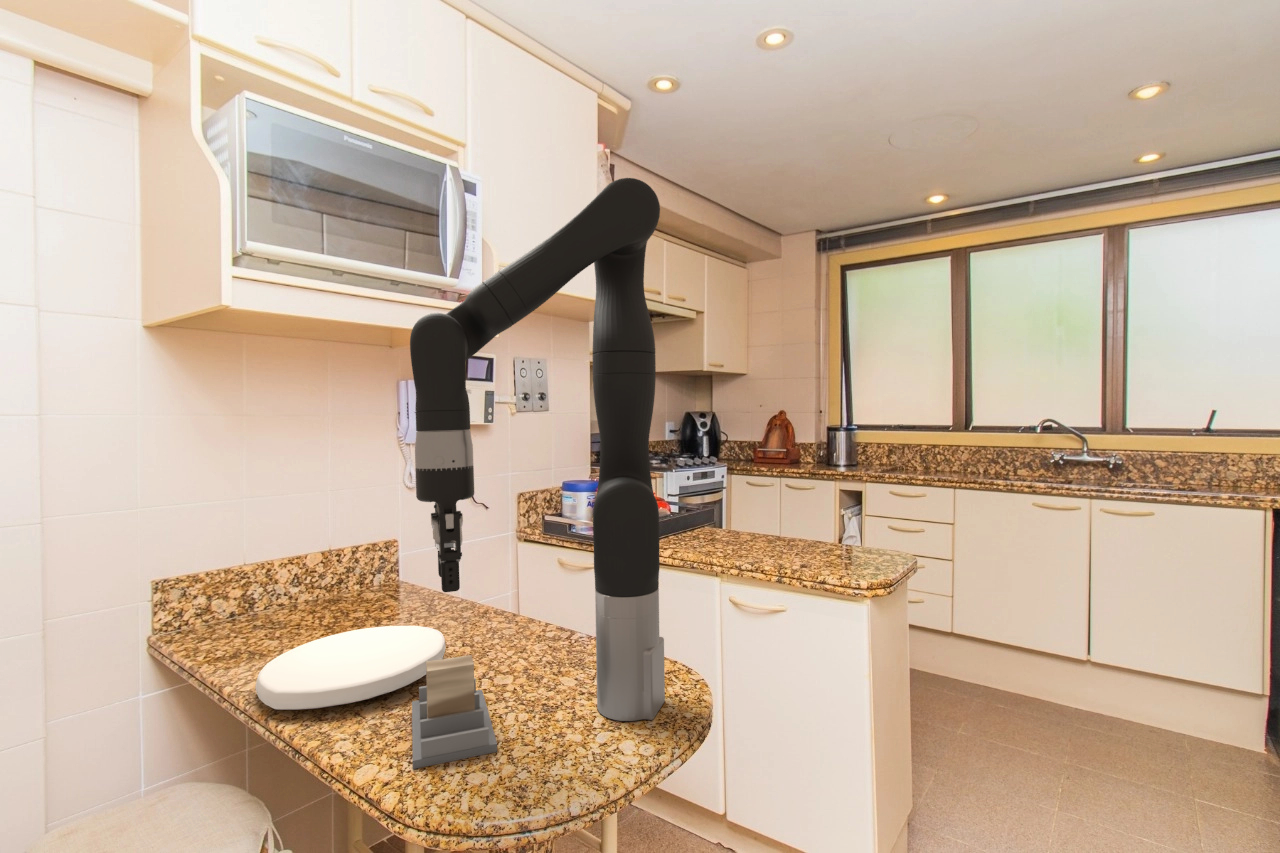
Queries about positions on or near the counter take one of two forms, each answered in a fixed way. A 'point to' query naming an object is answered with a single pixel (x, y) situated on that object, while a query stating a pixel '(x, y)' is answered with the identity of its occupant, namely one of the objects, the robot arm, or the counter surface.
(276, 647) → the counter surface
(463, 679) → the block
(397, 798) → the counter surface
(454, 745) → the rack
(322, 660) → the plate
